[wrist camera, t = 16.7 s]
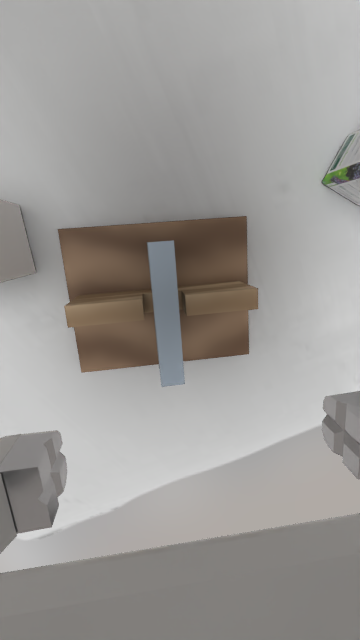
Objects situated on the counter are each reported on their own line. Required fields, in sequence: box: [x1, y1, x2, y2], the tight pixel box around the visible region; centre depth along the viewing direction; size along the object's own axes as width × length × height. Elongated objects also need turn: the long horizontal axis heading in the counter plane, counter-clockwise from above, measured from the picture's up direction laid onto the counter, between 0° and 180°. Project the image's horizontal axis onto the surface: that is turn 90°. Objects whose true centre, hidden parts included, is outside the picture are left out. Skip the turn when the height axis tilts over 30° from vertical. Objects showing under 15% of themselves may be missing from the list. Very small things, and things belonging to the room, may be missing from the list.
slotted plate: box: [147, 240, 185, 387], centre depth 30 cm, size 12×2×10 cm, turn 4°
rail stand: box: [58, 216, 258, 372], centre depth 32 cm, size 16×20×7 cm
